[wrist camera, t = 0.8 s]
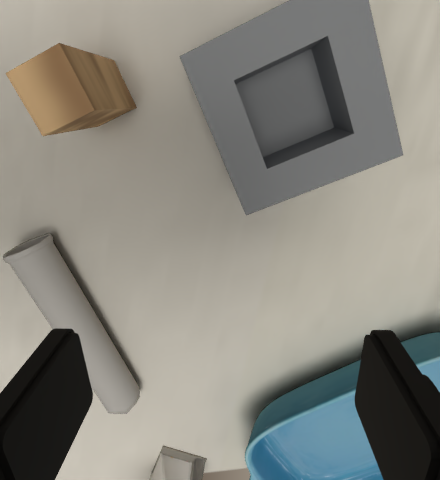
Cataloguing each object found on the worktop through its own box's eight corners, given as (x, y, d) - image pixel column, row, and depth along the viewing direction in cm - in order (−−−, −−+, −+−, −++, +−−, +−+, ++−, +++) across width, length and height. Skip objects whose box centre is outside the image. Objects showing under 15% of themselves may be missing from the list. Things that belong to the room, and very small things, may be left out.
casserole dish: (484, 283, 37) (536, 322, 31) (540, 409, 44) (593, 463, 37) (214, 404, 47) (209, 454, 40) (292, 493, 53) (299, 548, 47)
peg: (98, 126, 33) (42, 136, 24) (74, 81, 32) (5, 73, 22) (136, 107, 32) (94, 110, 23) (114, 60, 31) (59, 43, 22)
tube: (147, 411, 43) (45, 241, 34) (108, 430, 42) (-7, 263, 33) (145, 383, 48) (56, 228, 39) (110, 400, 47) (11, 247, 38)
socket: (245, 194, 35) (245, 215, 28) (192, 65, 30) (179, 56, 24) (371, 144, 32) (403, 155, 26) (333, -5, 28) (360, -36, 21)
